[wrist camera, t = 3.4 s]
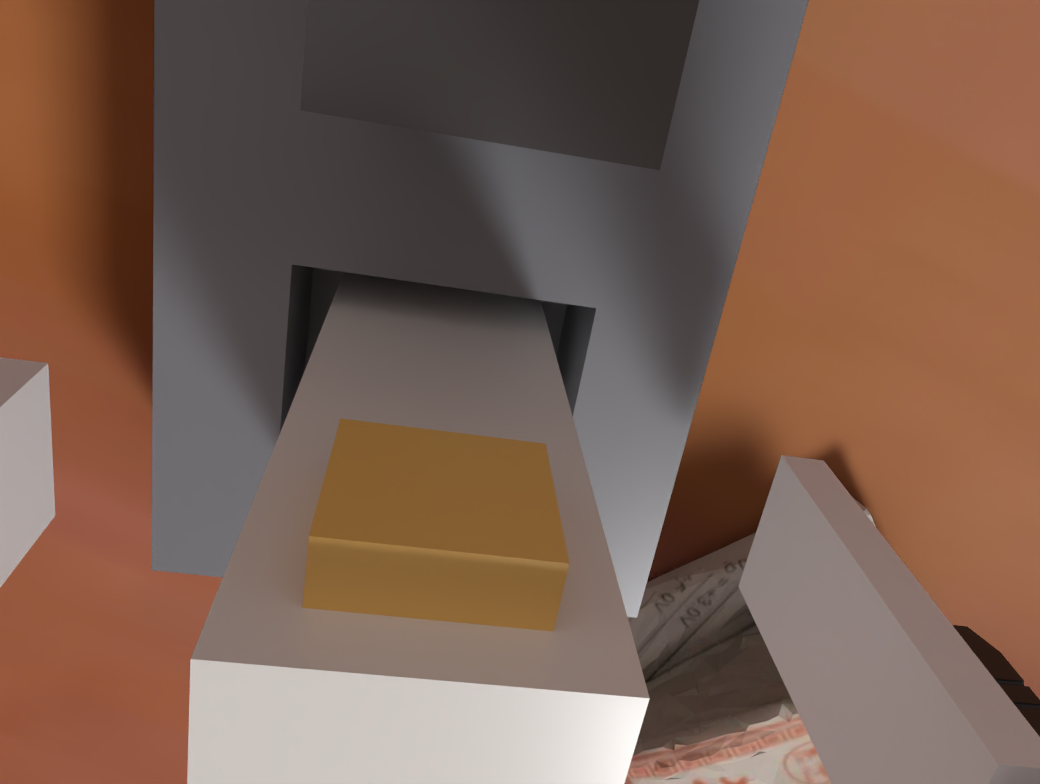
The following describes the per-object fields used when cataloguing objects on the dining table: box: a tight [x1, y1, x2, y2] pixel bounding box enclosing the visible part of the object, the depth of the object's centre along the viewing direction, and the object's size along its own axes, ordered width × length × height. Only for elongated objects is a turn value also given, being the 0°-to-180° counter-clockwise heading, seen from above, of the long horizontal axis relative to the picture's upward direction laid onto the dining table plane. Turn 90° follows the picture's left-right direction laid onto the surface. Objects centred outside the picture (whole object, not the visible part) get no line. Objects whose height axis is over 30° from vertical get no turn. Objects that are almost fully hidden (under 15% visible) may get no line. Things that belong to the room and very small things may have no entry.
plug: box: [187, 272, 650, 784], centre depth 14 cm, size 4×5×12 cm
